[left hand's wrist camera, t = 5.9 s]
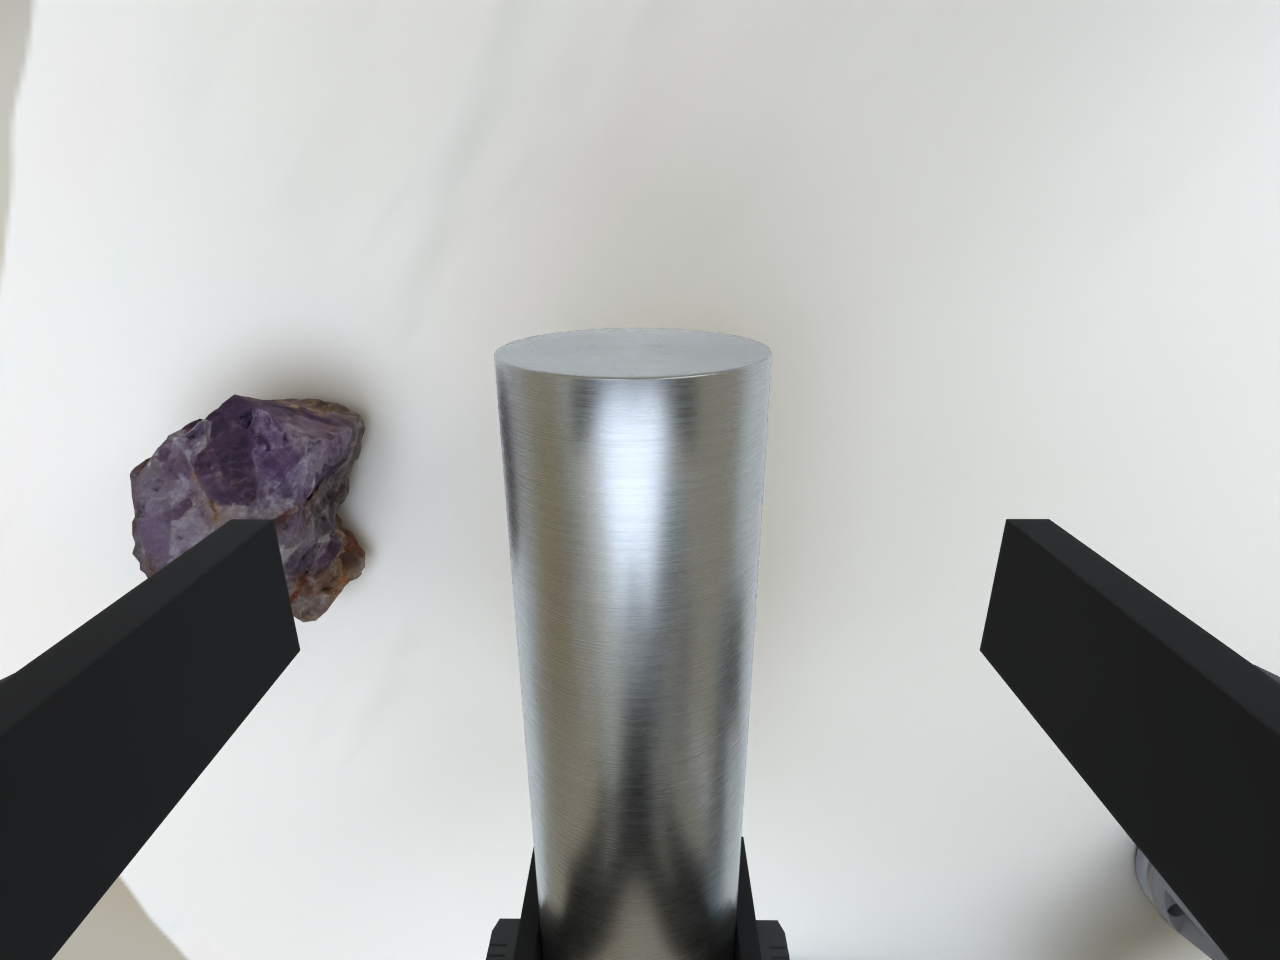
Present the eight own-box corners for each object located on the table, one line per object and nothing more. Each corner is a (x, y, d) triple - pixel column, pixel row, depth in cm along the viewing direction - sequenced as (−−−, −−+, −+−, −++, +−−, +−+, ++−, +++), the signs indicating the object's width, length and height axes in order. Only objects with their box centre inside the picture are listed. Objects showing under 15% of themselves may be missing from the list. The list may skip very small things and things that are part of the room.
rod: (521, 328, 23) (462, 377, 16) (751, 327, 23) (798, 376, 16) (559, 908, 33) (533, 1103, 25) (720, 909, 32) (741, 1105, 25)
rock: (407, 417, 38) (222, 361, 37) (355, 444, 30) (112, 372, 28) (358, 606, 40) (181, 559, 39) (297, 680, 32) (69, 623, 31)
